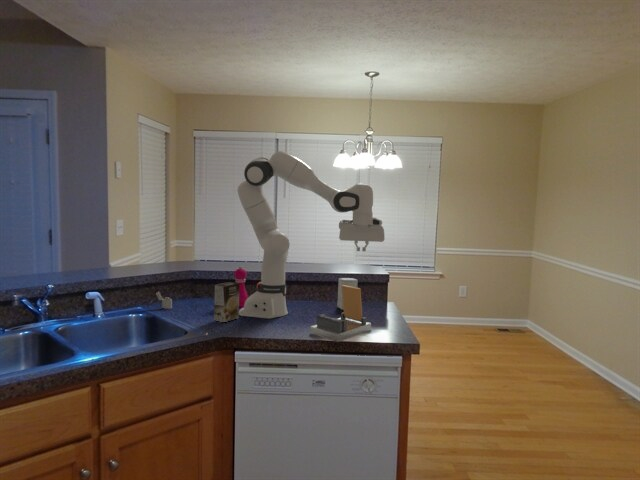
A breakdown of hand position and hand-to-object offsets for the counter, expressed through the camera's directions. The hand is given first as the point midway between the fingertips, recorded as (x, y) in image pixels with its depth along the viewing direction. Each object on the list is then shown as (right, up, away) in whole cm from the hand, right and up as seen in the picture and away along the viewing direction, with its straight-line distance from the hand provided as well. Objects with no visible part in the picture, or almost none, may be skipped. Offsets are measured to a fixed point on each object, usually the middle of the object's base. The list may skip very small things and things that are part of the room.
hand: (361, 251), depth 197 cm
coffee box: (-59, -30, -6) cm, 67 cm away
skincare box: (-5, -29, +22) cm, 37 cm away
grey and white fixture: (-10, -33, -18) cm, 38 cm away
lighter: (-93, -28, +11) cm, 97 cm away
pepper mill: (-58, -28, +20) cm, 68 cm away
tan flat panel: (-5, -22, -14) cm, 26 cm away
